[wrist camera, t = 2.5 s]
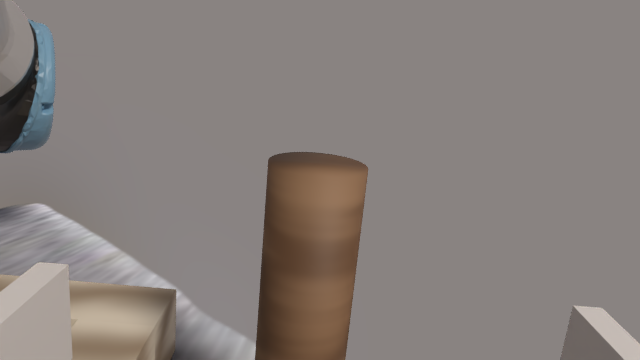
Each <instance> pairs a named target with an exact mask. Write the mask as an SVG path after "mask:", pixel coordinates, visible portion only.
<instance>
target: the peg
mask: <svg viewBox="0 0 640 360" xmlns="http://www.w3.org/2000/svg"><path fill="white" fill-rule="evenodd" d="M367 175H368V167H367V166H366V165H364V164H363V163H361V162H359V161H356V160H353V159H350V158H347V157H342V156H337V155H332V154H323V153H313V152H290V153H282V154H277V155H274V156H272V157H270V158H269V160H268V175H267V189H266V204H265V219H264V234H263V249H262V265H261V266H262V267H261V279H260V296H259V310H258V325H257V340H256V355H255V360H345V357H346V349H347V340H348V332H349V324H350V315H351V308H352V307H351V306H352V299H353V290H354V283H355V274H356V266H357V257H358V249H359V241H360V233H361V224H362V216H363V208H364V198H365V191H366V183H367Z"/></svg>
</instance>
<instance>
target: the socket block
mask: <svg viewBox="0 0 640 360" xmlns="http://www.w3.org/2000/svg"><path fill="white" fill-rule="evenodd" d="M19 277H20V276H11V275H0V292H1V291H2V290H3V289H4V288H6V287H7V286H8V285H10V284H11V283H12V282H13V281H15V280H16V279H17V278H19ZM69 290H70V313H71V335H72V360H171V358H172V356H173V354H174V352H175V326H176V290H175V289H163V288H151V287H140V286H128V285H116V284H104V283H93V282H81V281H69Z"/></svg>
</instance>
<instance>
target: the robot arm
mask: <svg viewBox="0 0 640 360" xmlns="http://www.w3.org/2000/svg"><path fill="white" fill-rule="evenodd" d="M54 96H55V52H54V43H53V37H52V34H51V31H50V30H49V29H48V27H47V26H46V25H44V24H41V23H36V22H34V21H32V20H29V19H27V18H26V16H25V15H24V13H23V11H22V10H21V9H20V8H19V7H18V6H17V4H16V3H15V2H13V0H0V153H10V152H13V151H15V150H32V149H37V148H39V147H41V146H43V145H44V144H45V143H46V142H47V140H48V138H49V136H50V132H51V128H52V122H53V103H54ZM0 360H72V335H71V313H70V290H69V267H68V265H67V264H55V263H42V262H38V263H37V264H35V265H34V266H33V267H32V268H30V269H29V270H28V271H26V272H25V273H24V274H23V275H21V276H20V277H19V278H17V279H16V280H15V281H13V282H12V283H11V284H10V285H8V286H7V287H6V288H4V289H3V290H2V291H1V292H0ZM560 360H640V344H639V343H638V342H637V341H636V340H635V339H634V338H633V337H632V336H631V335H630V334H629V333H628V332H627V331H626V330H624V329H623V328H622V327H621V326H620V325H619V324H618V323H617V322H616V321H615V320H614V319H613V318H612V317H611V316H610V315H609V314H608V313H607V312H606V311H605V310H604V309H602V308H595V307H583V306H573V308H572V312H571V316H570V321H569V325H568V329H567V333H566V338H565V342H564V346H563V351H562V355H561V359H560Z"/></svg>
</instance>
